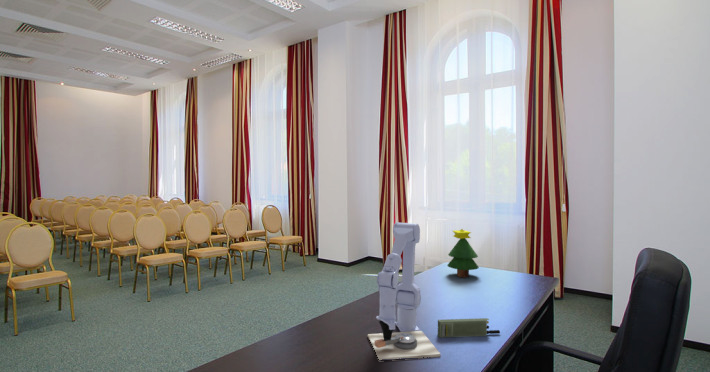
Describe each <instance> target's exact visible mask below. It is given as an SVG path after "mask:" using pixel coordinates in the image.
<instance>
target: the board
mask: <svg viewBox="0 0 710 372" xmlns="http://www.w3.org/2000/svg"><path fill="white" fill-rule="evenodd" d="M400 333H409V334H412V335H414V336H415V342H413V343H411V344H403V343H395V344H390V345H386V346H384V347H380V348H377V347H376V346H375V340H379V339H384V338H383V332H382V333H381V332H380V333H368V334H367V338H368V341H369V340H370V341H369V342H371V343H370V345H371V344H372V345H371V347H372V346H373V347H372V349H373V348H374V349H373V351H374V350H375V352H376V354H375V355H377V356H376V357H378V358H377V360H378V359H379V360H382V359H399V358H400V359H401V358H418V359H427V357H428V358H429V357H431V358H441V357H442V356H441V354H442V353H441V352H440V351H439V350H438V348H436V346H435V345H434V344H433V343H432V342H431V340H430V338H428V337H427V336H426V334H425V333H424V331H422V330H419V331H407V332H401V331H399V332H398V331H396V332H395V331H394V332H392V336H391V338H392V337H396V335H397V334H400ZM375 352H374V353H375ZM423 357H424V358H423ZM429 359H430V358H429ZM379 360H378V361H379Z"/></svg>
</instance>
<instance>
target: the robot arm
mask: <svg viewBox="0 0 710 372" xmlns="http://www.w3.org/2000/svg"><path fill="white" fill-rule="evenodd" d="M392 233H393V239H394V241H393V245H392V250H391V253H390V254H388V255H387V256H386V259H385V261H384V265H383V267H382V270H381V271H378V274H377V278H376V285H377V289H378V292H379V315H376V317H375V319H376V320H379V321H378V323H379V325H380V327H381V332H382V333H383V338H384V339H387V338H391V336H392V333H394V330H395V331H396V327H397V328H398V330H399V332H410V331H421V329H420V328H419V327H418V326H417V308H418V307H420V305H421V299H422V295H421V288H420V287H419V286H418V285H417V284H415V282H414V281H415V263H416V261H415V260H416V259H415V257H416V256H415V255H416V244H419V243H420V239H421V229H420V225H419V224H418V223H417V222H415V223H414V222H413V223H412V222H398V221H396V222H395V223H394V224H393V227H392ZM402 253H403V255H402ZM401 255H402V257H401ZM401 265H402V271H401V272H402V274H401V275H402V276H401V283H399V275H400V274H399V271H400V269H401ZM396 305H397V309H396ZM396 311H397V312H396Z"/></svg>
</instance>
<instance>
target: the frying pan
mask: <svg viewBox="0 0 710 372" xmlns="http://www.w3.org/2000/svg"><path fill="white" fill-rule="evenodd" d="M413 342H415V336H414V335H412V334H409V333H400V334H397V335H396V337H392V338H387V339H379V340H375V346H376V347H377V348H380V347H384V346H386V345H390V344H395V343H403V344H411V343H413Z"/></svg>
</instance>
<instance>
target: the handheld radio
mask: <svg viewBox="0 0 710 372" xmlns="http://www.w3.org/2000/svg"><path fill="white" fill-rule="evenodd" d="M489 320H490V319H489V318H487V317H486V318H485V317H484V318H482V317H481V318H478V317H477V318H455V319H454V318H453V319H452V318H451V319H437V337H438V338H464V337H487V335H491V334H494V335H496V334H501V331H500V330H499V329H491V330H487V329H489V328H490V326H489V325H488V324H489Z"/></svg>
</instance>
